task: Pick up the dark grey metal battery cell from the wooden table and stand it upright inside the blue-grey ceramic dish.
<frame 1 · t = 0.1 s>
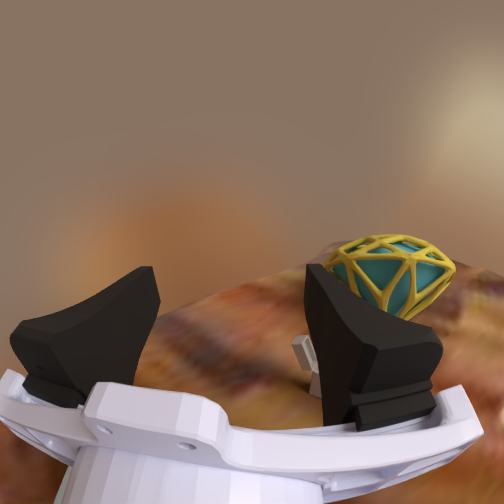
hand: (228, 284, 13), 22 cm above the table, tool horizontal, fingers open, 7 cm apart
decorative object: (381, 314, 45), on the table
lighter: (315, 391, 31), on the table
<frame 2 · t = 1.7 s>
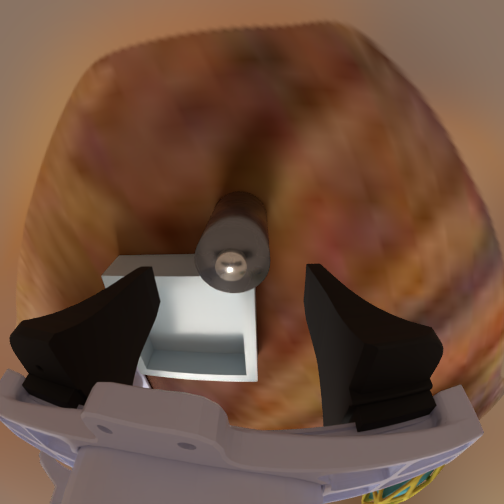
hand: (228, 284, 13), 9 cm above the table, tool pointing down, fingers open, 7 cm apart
battery cell: (240, 217, 21), on the table
decorative object: (401, 429, 39), on the table
dish: (191, 311, 25), on the table
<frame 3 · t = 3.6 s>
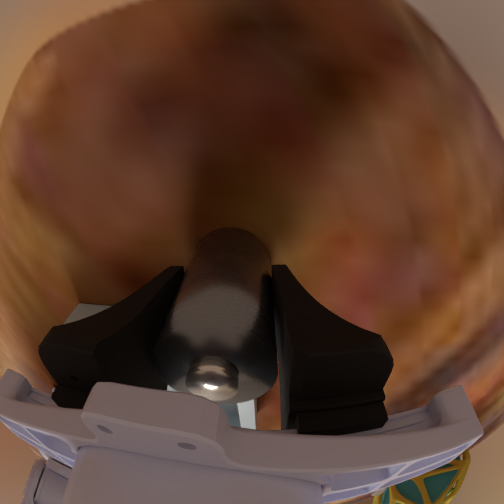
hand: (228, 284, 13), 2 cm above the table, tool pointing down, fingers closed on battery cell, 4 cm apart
battery cell: (231, 263, 14), on the table, touching gripper
decorative object: (410, 458, 33), on the table
dish: (174, 370, 18), on the table
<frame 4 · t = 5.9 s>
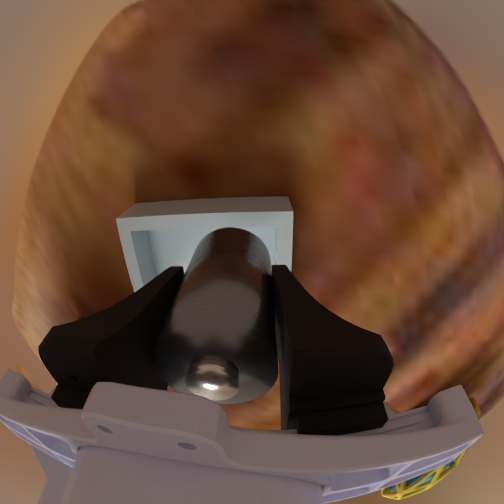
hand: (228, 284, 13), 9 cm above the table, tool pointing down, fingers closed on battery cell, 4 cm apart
battery cell: (231, 263, 14), point 7 cm above the table, touching gripper
decorative object: (420, 415, 37), on the table
lighter: (367, 386, 31), on the table
dish: (214, 268, 23), on the table
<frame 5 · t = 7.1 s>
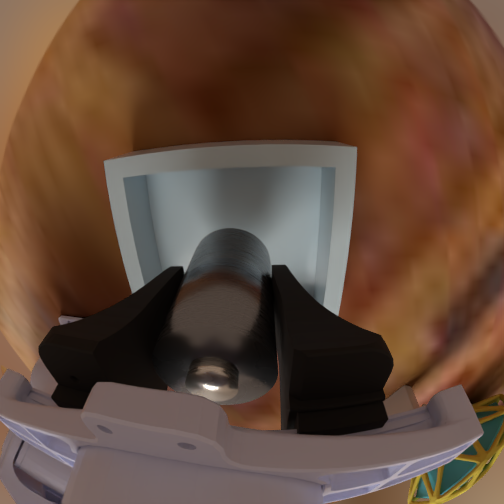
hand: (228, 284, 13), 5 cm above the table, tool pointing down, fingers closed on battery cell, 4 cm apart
battery cell: (231, 264, 14), point 3 cm above the table, touching gripper
decorative object: (447, 416, 31), on the table
lighter: (404, 387, 25), on the table
dish: (235, 239, 17), on the table
when the fingers open (4 cm above the table, at t = 8.2 s): battery cell drops 1 cm, resting on dish.
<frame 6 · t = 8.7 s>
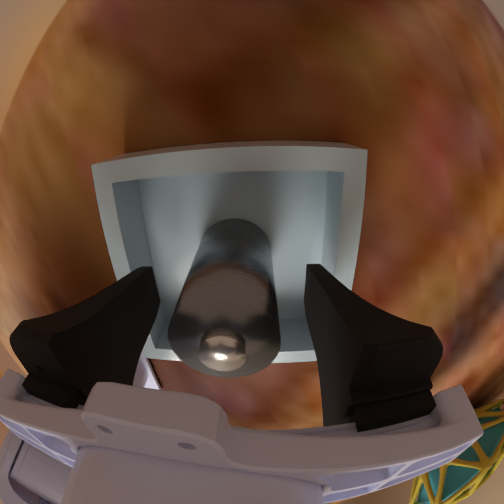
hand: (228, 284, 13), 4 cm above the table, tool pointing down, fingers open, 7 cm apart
battery cell: (235, 252, 15), point 1 cm above the table, touching dish
decorative object: (449, 421, 30), on the table
dish: (234, 247, 16), on the table
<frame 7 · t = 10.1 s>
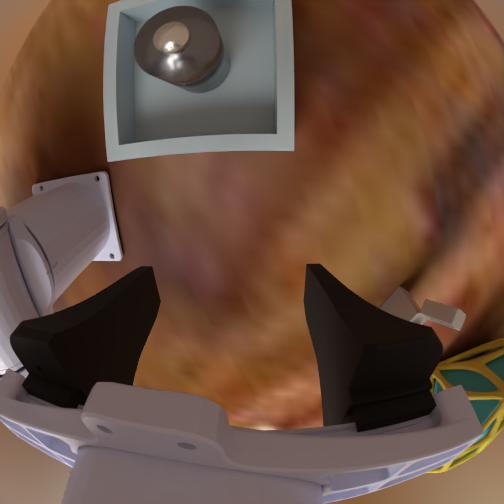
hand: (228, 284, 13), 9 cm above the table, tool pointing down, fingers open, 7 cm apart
battery cell: (201, 67, 15), point 1 cm above the table, touching dish
decorative object: (452, 364, 31), on the table
lighter: (400, 292, 24), on the table
dish: (201, 69, 16), on the table
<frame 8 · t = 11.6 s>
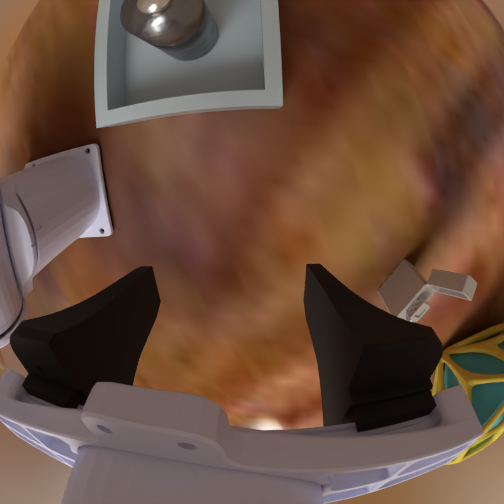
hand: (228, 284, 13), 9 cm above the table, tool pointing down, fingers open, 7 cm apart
battery cell: (190, 36, 14), point 1 cm above the table, touching dish
decorative object: (462, 350, 29), on the table
lighter: (404, 266, 23), on the table
dish: (191, 39, 15), on the table
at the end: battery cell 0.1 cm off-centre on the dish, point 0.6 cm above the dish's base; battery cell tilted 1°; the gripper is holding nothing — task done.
